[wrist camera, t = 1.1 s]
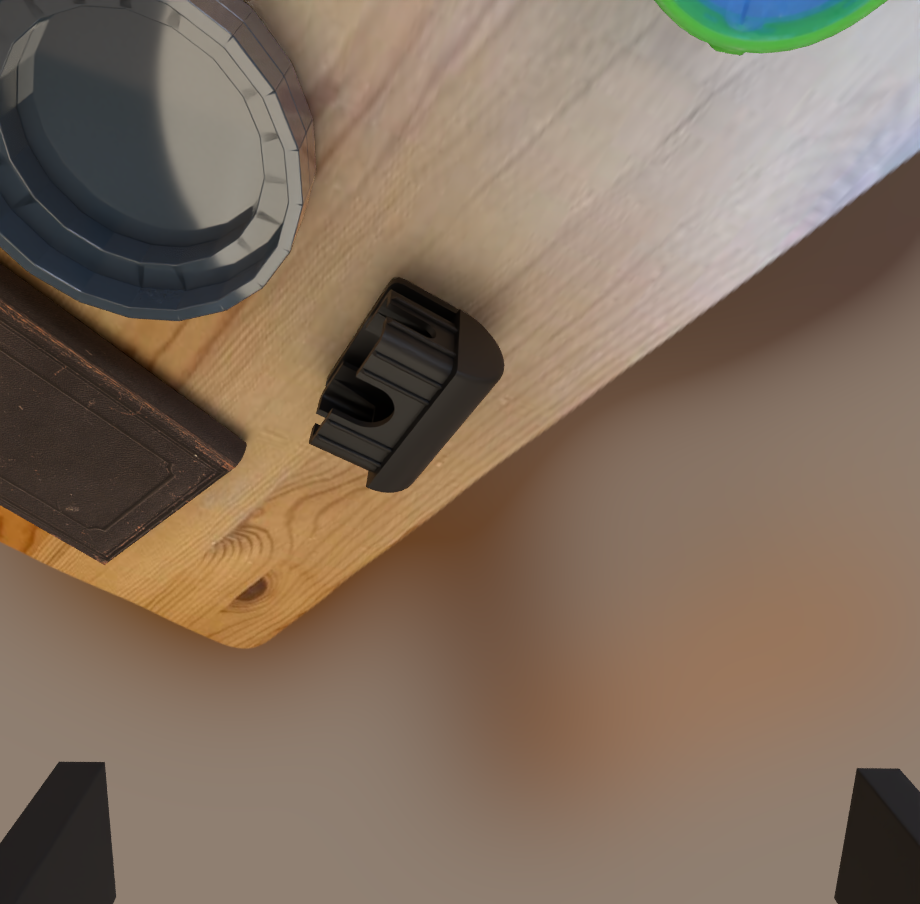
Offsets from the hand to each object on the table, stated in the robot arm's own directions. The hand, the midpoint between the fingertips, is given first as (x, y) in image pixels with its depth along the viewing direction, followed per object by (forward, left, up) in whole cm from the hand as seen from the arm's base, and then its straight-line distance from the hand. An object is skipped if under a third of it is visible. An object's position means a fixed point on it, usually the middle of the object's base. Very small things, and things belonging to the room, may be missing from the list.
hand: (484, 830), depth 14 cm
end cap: (+10, -11, -34) cm, 37 cm away
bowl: (-8, -14, -34) cm, 38 cm away
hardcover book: (-1, -34, -34) cm, 48 cm away
